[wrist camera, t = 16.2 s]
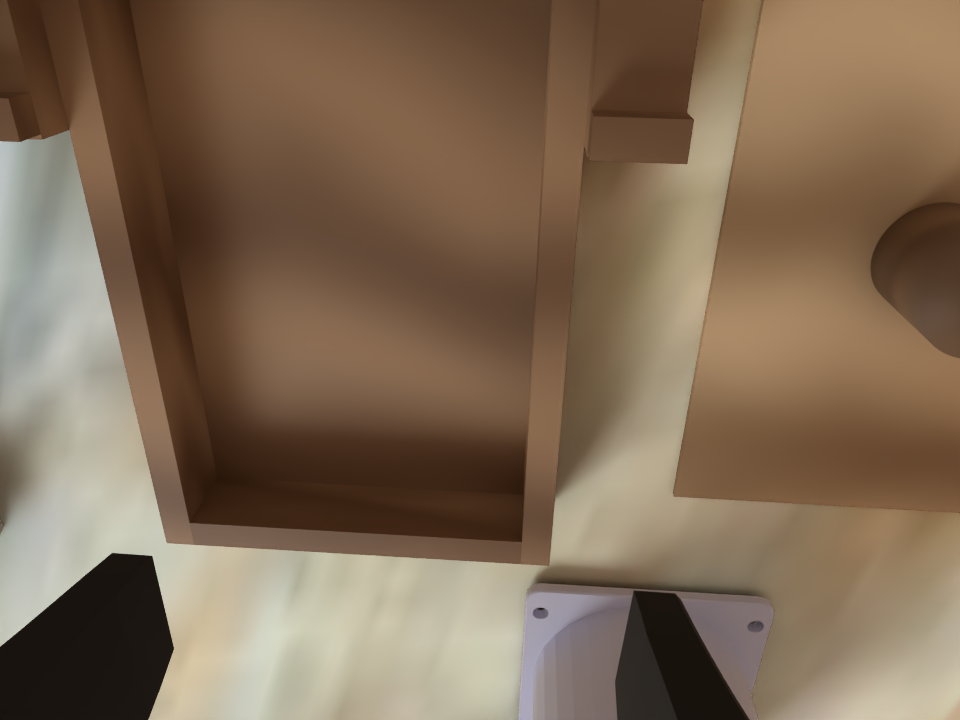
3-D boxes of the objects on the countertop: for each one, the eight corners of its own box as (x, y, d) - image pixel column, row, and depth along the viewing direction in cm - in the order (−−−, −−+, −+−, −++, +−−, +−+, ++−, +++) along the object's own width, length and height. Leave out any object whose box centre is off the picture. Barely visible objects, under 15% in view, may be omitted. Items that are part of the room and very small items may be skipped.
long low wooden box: (605, 509, 23) (619, 616, 19) (-187, 465, 24) (-320, 558, 21) (683, -115, 15) (732, -139, 12) (-485, -133, 17) (-785, -161, 13)
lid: (1012, 499, 23) (1090, 586, 20) (669, 480, 23) (690, 562, 20) (1289, -109, 15) (1485, -128, 12) (774, -119, 16) (835, -139, 13)
